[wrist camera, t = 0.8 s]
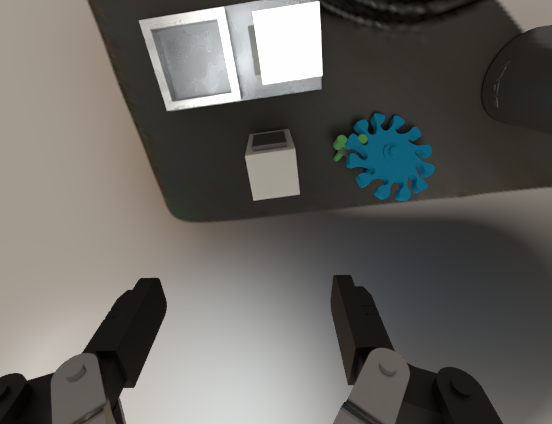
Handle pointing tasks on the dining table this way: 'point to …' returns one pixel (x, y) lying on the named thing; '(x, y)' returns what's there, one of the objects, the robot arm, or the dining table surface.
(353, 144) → the blue spiky virus toy
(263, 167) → the block
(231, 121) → the dining table surface
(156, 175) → the dining table surface
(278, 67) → the base with upright block
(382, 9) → the dining table surface
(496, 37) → the dining table surface
